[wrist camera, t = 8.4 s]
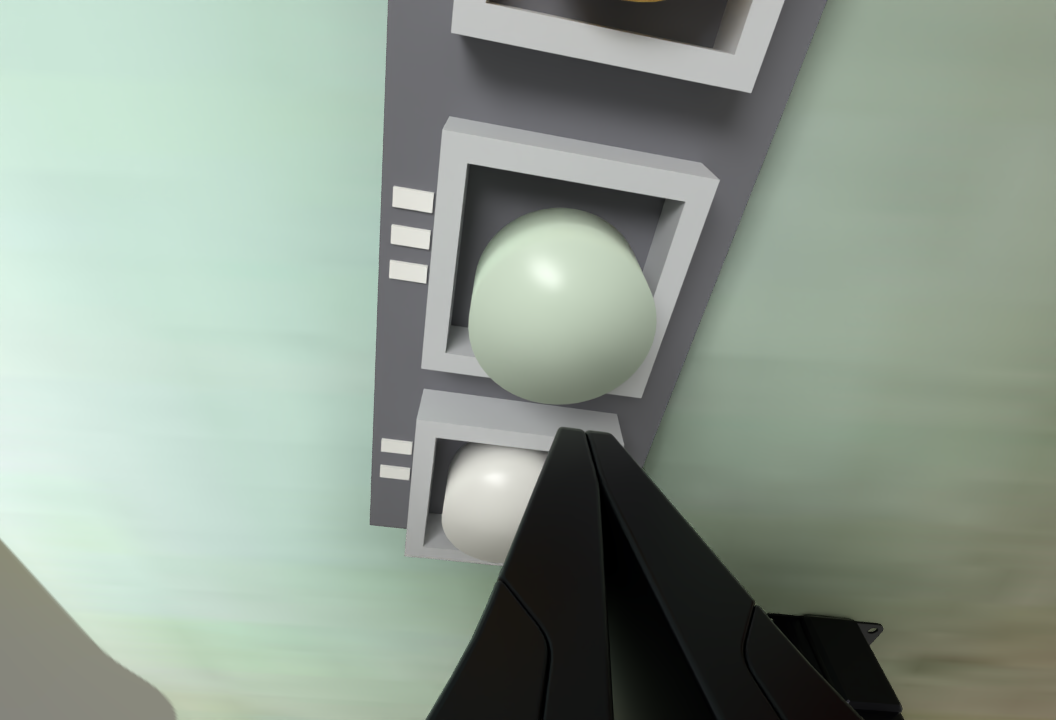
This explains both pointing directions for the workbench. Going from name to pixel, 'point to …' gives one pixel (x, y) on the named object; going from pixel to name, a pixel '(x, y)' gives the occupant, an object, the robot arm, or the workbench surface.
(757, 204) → the workbench surface
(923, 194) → the workbench surface
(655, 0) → the button amber
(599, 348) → the button sage
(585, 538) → the robot arm
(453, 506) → the button white
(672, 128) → the control board
